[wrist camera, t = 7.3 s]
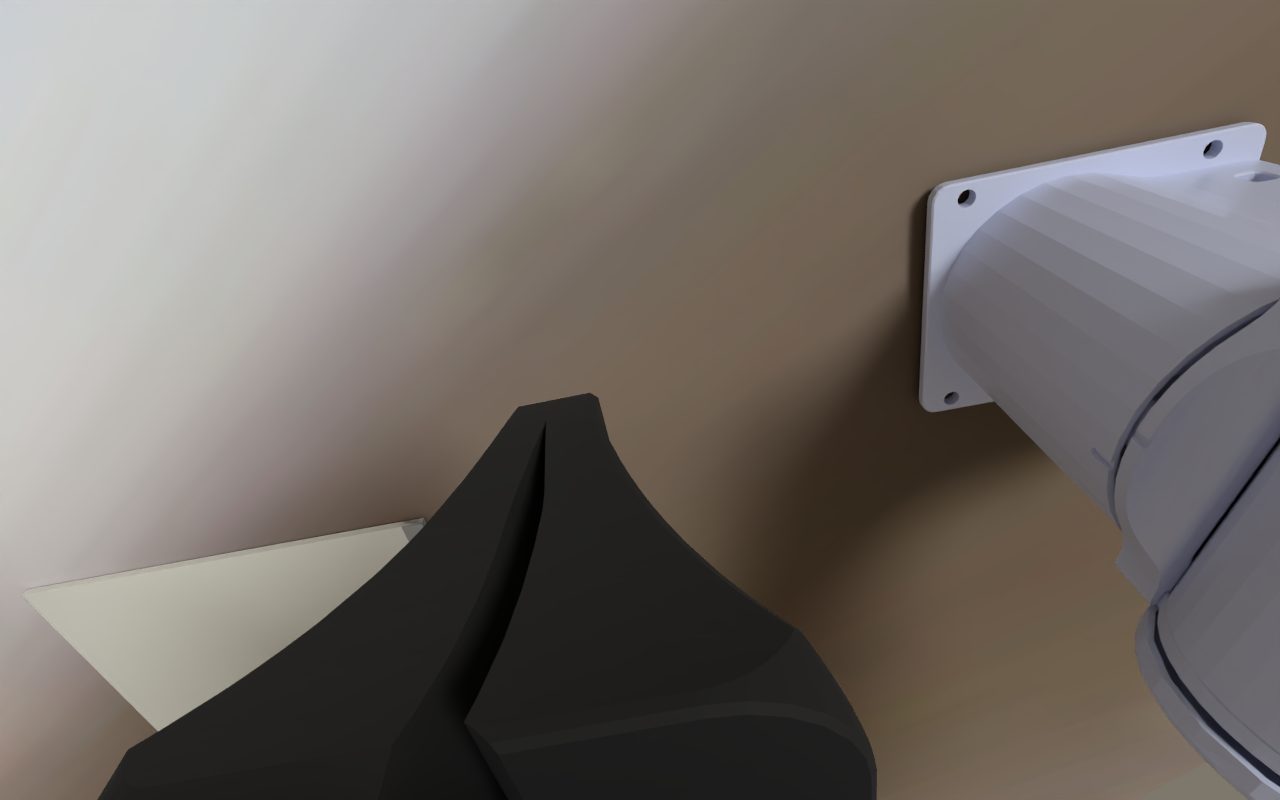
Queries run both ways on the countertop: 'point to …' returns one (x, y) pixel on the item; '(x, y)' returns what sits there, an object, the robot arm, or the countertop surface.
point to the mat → (210, 613)
